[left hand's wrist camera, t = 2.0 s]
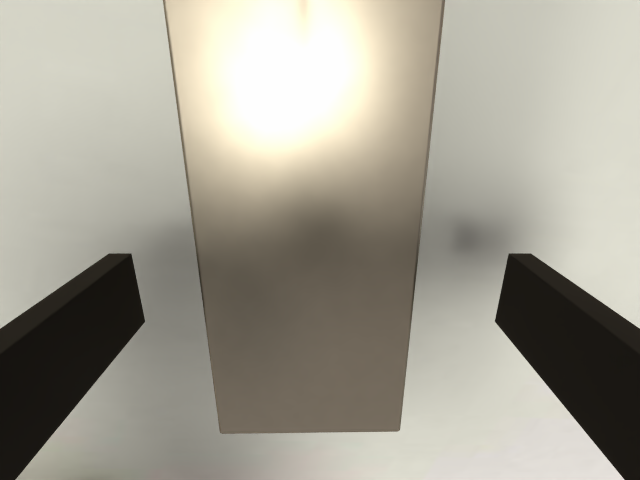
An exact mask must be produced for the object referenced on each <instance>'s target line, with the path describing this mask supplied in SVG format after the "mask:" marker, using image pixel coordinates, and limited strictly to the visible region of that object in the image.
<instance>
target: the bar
mask: <svg viewBox="0 0 640 480" xmlns="http://www.w3.org/2000/svg"><path fill="white" fill-rule="evenodd" d="M163 4H164V12H165V20H166V27H167V35H168V42H169V50H170V57H171V65H172V73H173V80H174V88H175V95H176V103H177V110H178V118H179V126H180V133H181V141H182V148H183V156H184V163H185V171H186V179H187V186H188V194H189V201H190V209H191V216H192V224H193V232H194V239H195V247H196V254H197V262H198V269H199V277H200V285H201V292H202V300H203V307H204V315H205V322H206V330H207V338H208V345H209V353H210V360H211V368H212V375H213V383H214V391H215V398H216V406H217V413H218V421H219V428H220V433H222V434H230V433H310V432H390V431H399V430H400V424H401V415H402V405H403V396H404V386H405V377H406V367H407V358H408V348H409V339H410V329H411V320H412V310H413V301H414V291H415V282H416V272H417V263H418V253H419V244H420V234H421V225H422V215H423V206H424V196H425V187H426V177H427V168H428V158H429V149H430V139H431V130H432V120H433V111H434V101H435V92H436V82H437V73H438V63H439V54H440V44H441V35H442V25H443V16H444V6H445V0H163Z"/></svg>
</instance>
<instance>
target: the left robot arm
mask: <svg viewBox="0 0 640 480" xmlns="http://www.w3.org/2000/svg"><path fill="white" fill-rule="evenodd" d="M144 322H145V319H144V314H143V309H142V304H141V299H140V294H139V289H138V284H137V280H136V275H135V270H134V265H133V260H132V255H131V254H108V255H107V256H105V257H104V258H102V259H101V260H99V261H98V262H96V263H95V264H93V265H92V266H91V267H89V268H88V269H86V270H85V271H83V272H82V273H80V274H79V275H78V276H76V277H75V278H73V279H72V280H70V281H69V282H67V283H66V284H65V285H63V286H62V287H60V288H59V289H57V290H56V291H54V292H53V293H51V294H50V295H49V296H47V297H46V298H44V299H43V300H41V301H40V302H38V303H37V304H36V305H34V306H33V307H31V308H30V309H28V310H27V311H25V312H24V313H22V314H21V315H20V316H18V317H17V318H15V319H14V320H12V321H11V322H9V323H8V324H7V325H5V326H4V327H2V328H1V329H0V480H15V479H16V478H17V477H18V476H19V475H20V473H21V472H22V471H23V470H24V468H25V467H26V466H27V465H28V464H29V462H30V461H31V460H32V459H33V457H34V456H35V455H36V454H37V453H38V451H39V450H40V449H41V448H42V447H43V445H44V444H45V443H46V442H47V440H48V439H49V438H50V437H51V436H52V434H53V433H54V432H55V431H56V429H57V428H58V427H59V426H60V425H61V423H62V422H63V421H64V420H65V418H66V417H67V416H68V415H69V414H70V412H71V411H72V410H73V409H74V408H75V406H76V405H77V404H78V403H79V401H80V400H81V399H82V398H83V397H84V395H85V394H86V393H87V392H88V390H89V389H90V388H91V387H92V386H93V384H94V383H95V382H96V381H97V379H98V378H99V377H100V376H101V375H102V373H103V372H104V371H105V370H106V368H107V367H108V366H109V365H110V364H111V362H112V361H113V360H114V359H115V358H116V356H117V355H118V354H119V353H120V351H121V350H122V349H123V348H124V347H125V345H126V344H127V343H128V342H129V340H130V339H131V338H132V337H133V336H134V334H135V333H136V332H137V331H138V329H139V328H140V327H141V326H142V325H143V323H144ZM495 322H496V323H497V325H498V326H499V327H500V328H501V329H502V331H503V332H504V333H505V334H506V336H507V337H508V338H509V339H510V340H511V342H512V343H513V344H514V345H515V347H516V348H517V349H518V350H519V351H520V353H521V354H522V355H523V356H524V358H525V359H526V360H527V361H528V362H529V364H530V365H531V366H532V367H533V368H534V370H535V371H536V372H537V373H538V375H539V376H540V377H541V378H542V379H543V381H544V382H545V383H546V384H547V386H548V387H549V388H550V389H551V390H552V392H553V393H554V394H555V395H556V397H557V398H558V399H559V400H560V401H561V403H562V404H563V405H564V406H565V408H566V409H567V410H568V411H569V412H570V414H571V415H572V416H573V417H574V418H575V420H576V421H577V422H578V423H579V425H580V426H581V427H582V428H583V429H584V431H585V432H586V433H587V434H588V436H589V437H590V438H591V439H592V440H593V442H594V443H595V444H596V445H597V447H598V448H599V449H600V450H601V451H602V453H603V454H604V455H605V456H606V457H607V459H608V460H609V461H610V462H611V464H612V465H613V466H614V467H615V468H616V470H617V471H618V472H619V473H620V475H621V476H622V477H623V478H624V479H625V480H640V328H638V327H636V326H635V325H633V324H632V323H631V322H629V321H628V320H626V319H625V318H623V317H622V316H620V315H619V314H618V313H616V312H615V311H613V310H612V309H610V308H609V307H607V306H606V305H604V304H603V303H602V302H600V301H599V300H597V299H596V298H594V297H593V296H591V295H590V294H589V293H587V292H586V291H584V290H583V289H581V288H580V287H578V286H577V285H575V284H574V283H573V282H571V281H570V280H568V279H567V278H565V277H564V276H562V275H561V274H560V273H558V272H557V271H555V270H554V269H552V268H551V267H549V266H548V265H547V264H545V263H544V262H542V261H541V260H539V259H538V258H536V257H535V256H533V255H532V254H509V255H508V260H507V265H506V270H505V275H504V280H503V284H502V289H501V294H500V299H499V304H498V309H497V314H496V319H495Z"/></svg>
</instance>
